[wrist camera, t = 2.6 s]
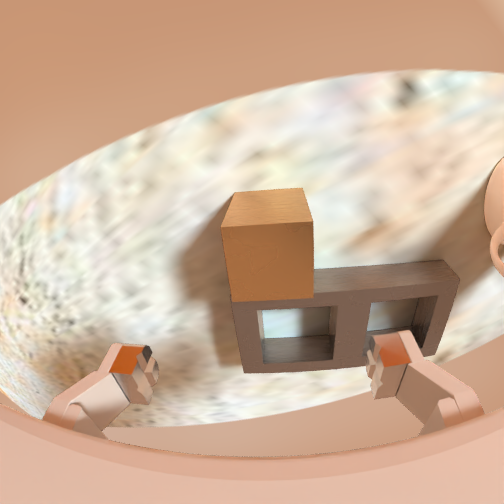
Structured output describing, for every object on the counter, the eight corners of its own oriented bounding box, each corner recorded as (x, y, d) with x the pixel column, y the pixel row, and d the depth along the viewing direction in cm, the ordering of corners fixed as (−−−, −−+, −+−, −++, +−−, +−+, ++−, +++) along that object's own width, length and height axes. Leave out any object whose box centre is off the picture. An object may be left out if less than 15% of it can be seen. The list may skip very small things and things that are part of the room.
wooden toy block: (302, 187, 20) (313, 221, 14) (304, 248, 22) (313, 297, 16) (234, 192, 20) (220, 227, 15) (242, 252, 22) (232, 301, 17)
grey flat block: (443, 259, 21) (459, 279, 19) (424, 333, 25) (434, 354, 22) (235, 273, 23) (230, 297, 20) (246, 348, 27) (243, 373, 24)
